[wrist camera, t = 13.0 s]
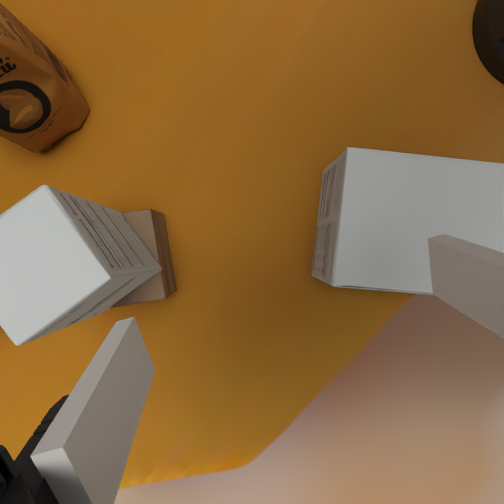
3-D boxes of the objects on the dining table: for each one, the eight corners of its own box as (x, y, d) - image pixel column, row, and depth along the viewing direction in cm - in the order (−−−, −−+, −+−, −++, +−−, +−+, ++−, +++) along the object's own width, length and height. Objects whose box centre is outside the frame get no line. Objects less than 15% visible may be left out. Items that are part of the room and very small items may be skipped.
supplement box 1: (104, 313, 32) (11, 352, 20) (60, 252, 32) (-61, 251, 20) (165, 270, 32) (113, 280, 20) (122, 209, 32) (41, 179, 20)
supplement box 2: (459, 182, 39) (528, 163, 30) (447, 290, 40) (510, 305, 30) (321, 166, 39) (347, 143, 29) (309, 277, 39) (331, 288, 30)
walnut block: (164, 214, 38) (150, 209, 32) (176, 289, 39) (165, 298, 33) (87, 226, 38) (58, 223, 32) (100, 302, 38) (74, 313, 32)
